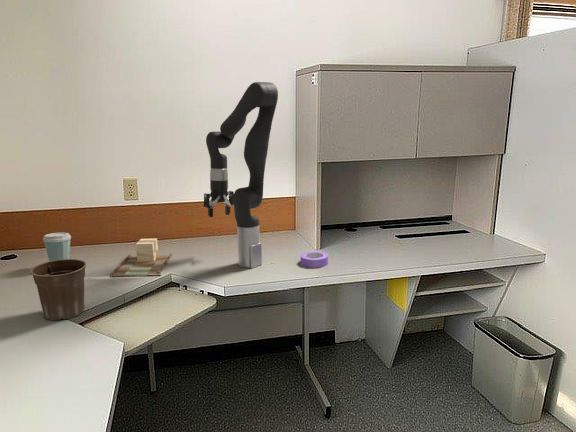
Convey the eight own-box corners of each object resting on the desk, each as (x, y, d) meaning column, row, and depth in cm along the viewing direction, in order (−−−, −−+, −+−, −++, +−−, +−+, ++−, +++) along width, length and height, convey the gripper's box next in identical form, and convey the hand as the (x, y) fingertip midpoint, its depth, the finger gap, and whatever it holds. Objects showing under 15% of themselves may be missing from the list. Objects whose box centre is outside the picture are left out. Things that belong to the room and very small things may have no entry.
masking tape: (305, 269, 190) (305, 260, 189) (297, 260, 201) (297, 252, 200) (332, 266, 193) (332, 257, 192) (322, 258, 204) (322, 249, 203)
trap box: (129, 258, 206) (128, 254, 206) (172, 257, 207) (171, 253, 206) (111, 277, 184) (111, 272, 183) (160, 276, 184) (159, 271, 184)
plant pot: (102, 305, 158) (97, 260, 154) (68, 326, 143) (61, 277, 139) (62, 300, 162) (56, 257, 159) (25, 321, 147) (18, 273, 144)
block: (142, 256, 206) (140, 238, 204) (158, 255, 206) (156, 238, 204) (137, 261, 198) (135, 244, 196) (153, 261, 198) (152, 243, 197)
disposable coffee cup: (48, 265, 199) (43, 231, 196) (75, 262, 203) (71, 229, 200) (45, 273, 190) (40, 238, 186) (74, 269, 193) (69, 235, 190)
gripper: (209, 180, 190) (210, 219, 194) (237, 178, 200) (237, 215, 203) (199, 179, 196) (200, 216, 199) (227, 176, 205) (227, 212, 209)
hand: (219, 215), depth 201 cm, fingers open, 8 cm apart
